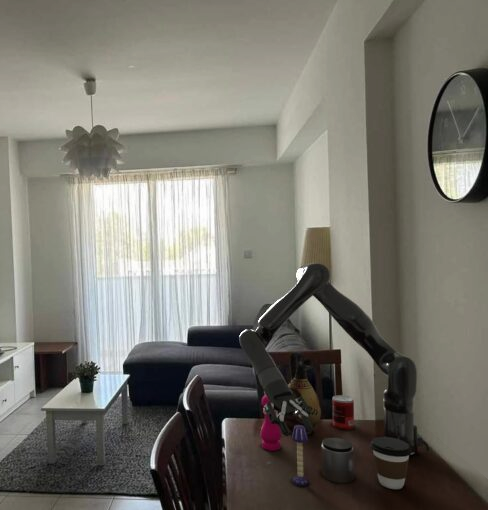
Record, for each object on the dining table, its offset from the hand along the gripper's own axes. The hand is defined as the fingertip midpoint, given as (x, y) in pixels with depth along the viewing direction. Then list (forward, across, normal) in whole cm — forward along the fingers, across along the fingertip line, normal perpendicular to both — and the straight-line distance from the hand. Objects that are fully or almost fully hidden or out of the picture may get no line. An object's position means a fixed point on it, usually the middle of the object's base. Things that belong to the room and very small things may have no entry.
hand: (299, 432), depth 138 cm
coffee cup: (+19, +23, +2) cm, 30 cm away
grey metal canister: (+12, +13, +9) cm, 20 cm away
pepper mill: (-6, +8, +28) cm, 29 cm away
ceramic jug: (-12, +28, +33) cm, 45 cm away
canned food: (-9, +46, +30) cm, 56 cm away
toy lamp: (+11, 0, +10) cm, 15 cm away
